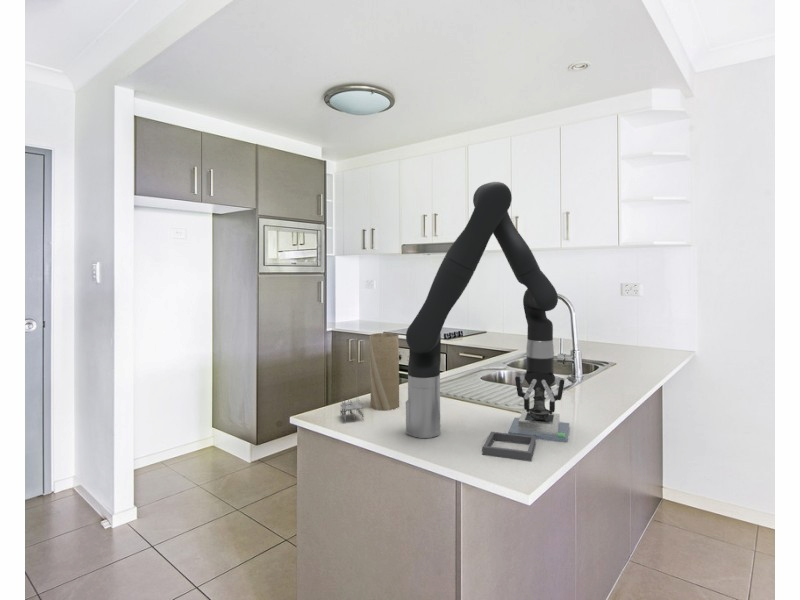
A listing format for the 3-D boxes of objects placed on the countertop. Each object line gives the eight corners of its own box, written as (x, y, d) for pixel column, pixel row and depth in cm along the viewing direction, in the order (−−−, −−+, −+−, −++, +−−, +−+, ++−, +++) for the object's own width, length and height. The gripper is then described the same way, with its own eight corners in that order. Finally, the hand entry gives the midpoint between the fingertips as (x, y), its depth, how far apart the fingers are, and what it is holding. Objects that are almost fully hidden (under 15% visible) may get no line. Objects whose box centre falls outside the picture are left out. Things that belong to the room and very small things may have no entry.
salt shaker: (545, 419, 139) (546, 379, 138) (552, 425, 133) (553, 384, 133) (526, 419, 139) (526, 379, 138) (532, 426, 133) (532, 384, 132)
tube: (381, 412, 156) (380, 337, 154) (365, 405, 164) (364, 334, 163) (405, 406, 162) (404, 335, 160) (388, 400, 170) (387, 332, 168)
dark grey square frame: (482, 454, 119) (482, 446, 119) (491, 438, 131) (491, 431, 130) (531, 461, 115) (531, 453, 115) (535, 443, 126) (535, 436, 126)
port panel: (507, 435, 133) (508, 421, 133) (514, 420, 146) (514, 407, 146) (567, 442, 127) (567, 428, 127) (569, 426, 140) (569, 413, 140)
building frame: (344, 423, 145) (344, 405, 145) (339, 416, 153) (338, 398, 152) (364, 421, 147) (363, 402, 147) (357, 414, 155) (357, 396, 154)
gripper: (512, 355, 134) (512, 413, 135) (565, 358, 129) (565, 418, 130) (516, 351, 141) (515, 406, 142) (566, 354, 136) (566, 411, 137)
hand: (539, 412), depth 136 cm, fingers closed on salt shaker, 5 cm apart
